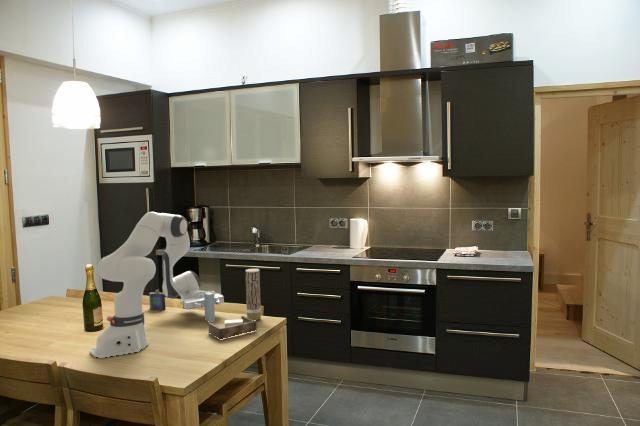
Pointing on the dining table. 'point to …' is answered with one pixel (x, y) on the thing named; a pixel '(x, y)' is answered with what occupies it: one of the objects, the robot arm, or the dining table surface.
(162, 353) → the dining table surface
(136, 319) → the robot arm
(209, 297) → the blue-grey block
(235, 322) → the offcut upper
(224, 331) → the brown basket
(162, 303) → the flask
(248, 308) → the brown patterned cylinder
